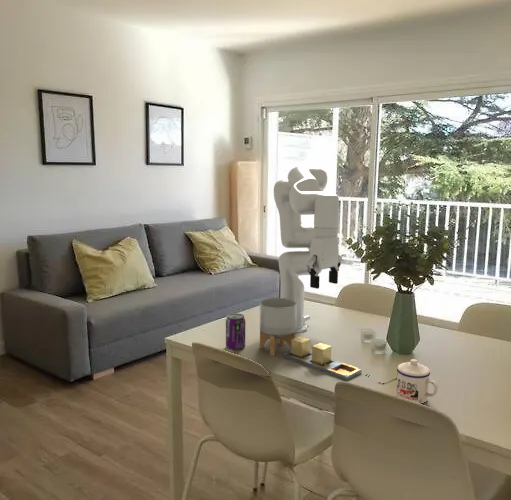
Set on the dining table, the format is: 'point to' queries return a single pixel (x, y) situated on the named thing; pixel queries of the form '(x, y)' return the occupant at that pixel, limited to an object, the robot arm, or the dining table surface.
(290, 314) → the planter
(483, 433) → the dining table surface
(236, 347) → the beverage can
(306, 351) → the brass block
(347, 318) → the dining table surface
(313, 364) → the gray slotted tray
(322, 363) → the brass block
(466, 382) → the dining table surface
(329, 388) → the dining table surface
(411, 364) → the teacup with lid
